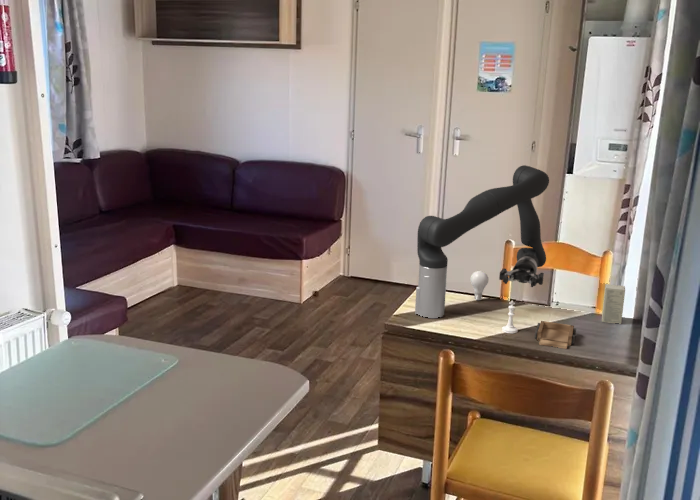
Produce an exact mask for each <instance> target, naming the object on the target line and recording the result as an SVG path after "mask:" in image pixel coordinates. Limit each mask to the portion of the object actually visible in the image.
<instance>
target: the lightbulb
mask: <svg viewBox="0 0 700 500" xmlns="http://www.w3.org/2000/svg"><path fill="white" fill-rule="evenodd" d="M469 281H470V283H471V286H472V288H473V291H474V297H473V299H474V300H476V301H478V302H479V301H481V300H482V299H483V292H484V290H485V288H486V286H487V285H488V284H489V276H488V274H487V273H486V272H485V271H483V270H476V271H474V272H472V273H471V276H470V279H469Z"/></svg>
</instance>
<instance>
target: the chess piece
mask: <svg viewBox="0 0 700 500" xmlns="http://www.w3.org/2000/svg"><path fill="white" fill-rule="evenodd" d="M515 304H516V302H514V300H511V301H509V303H508V311H509V312H507V315H508V321H507V324H506V325H504V326H502V328H501V331H502V332H504V333H507V334H516V333H518V332H519V331H518V328H517V327H516V326H515V325H514V323H513V320H514V319H513V318H514V317H513V316H515V313H514V310H515V309H516V307H515V306H514V305H515Z"/></svg>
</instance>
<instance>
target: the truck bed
mask: <svg viewBox="0 0 700 500" xmlns="http://www.w3.org/2000/svg"><path fill="white" fill-rule="evenodd" d="M536 327H537V328H535V331H534V339H536V341H539V342H538V344H539V346H546V347H551V346H553V347H552V348H557V347H558V349H559V348H560V349H563V350H565V349H566V350H567V348H568V347H571V346H572V345H575V339H576V336H577V335H576V334H577V328H575V325H572V324H567V323H566V324H565V323H559V322H551V321H544V320H540V322H537V325H536Z"/></svg>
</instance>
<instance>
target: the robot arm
mask: <svg viewBox="0 0 700 500" xmlns="http://www.w3.org/2000/svg"><path fill="white" fill-rule="evenodd" d="M549 184H550V177H549V175H548V173H546V172H545V171H543V170H541V169H539V168H538V169H537V168H535V167H532V166H529V165H526V164H525V165H523V164H522V165H520V166H518V167H517V168H516V170H514V172H513V174H512V185H508V186H507V185H506V186H500V187H494V188H490V189H487V190H485V191H482V192H481V193H478V194H476V195H475V196H473V197H472V198H470V199H469V201H468V202H467V203H466V205H465V207H464V208H463V209H462V210H461V211H460V212H459V213H457V214H455V215H453V216H450V217H447V218H441V217H439V216H436V215H427V216H425V217H423V218H422V219H421V221H420V222H419V224H418V229H417V236H416V237H417V250H416V251H417V257H418V259H419V261H418V262H419V265H418V281H417V283H418V284H417V286H416V289H415V291H416V292H415V307H414V314H415V315H416V314H418V315H417V316H419V315H420V316H419V317H422V316H423V317H422V318H425V317H428V318H427V319H439V318H438V317H440V318H443V317H444V316H445V310H446V309H445V308H446V306H445V305H446V292H447V275H448V260H449V259H448V257H447V254H445V253H444V251H443V249H442V248H444V247H446V246H450V244H452V243H453V242H455V241H457V240H458V239H459V238H460V237H461V236H463V235H465V234H467V233H468V232H469V231H471V230H472V229H473V230H474V229H475V228H476V227H479V226H480V225H482V224H483V223H485V222H487V221H490V220H491V219H493V218H495V217H497V216H498V215H500V214H502V213H504V212H506V211H508V210H509V209H511V208H513V207H515V206H517V210H518V215H519V224H520V228H519V229H520V241H521V244H522V245H524V246H526V247H522V248H519V249H518V250H517V252H516V262H515V265H514V267H513V268H512V270H508V269H507V268H502V269H501V270H500V271H499V277H498V280H499V281H502V283H503V284H504V285H507V284H508V282H519V283H522V284H529V285H530V288H533V287H535V286H537V284H538V285H540V286H541V285H542V286H543V283H544V276H545V275H544V272H540V273H538V274H537V271H538V268H541V267H543V266H544V265H545V264H546V262H547V254H546V251H545V249H544V245H543V242H542V239H541V238H542V237H541V221H540V219H539V215H538V213H537V211H536V209H535V207H534V204H533V200H532V199H534V198H537V197H538V196H540V195H541V194H543V193H544V192H545V191H546V190H547V189H548V186H549ZM443 315H444V316H443Z"/></svg>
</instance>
